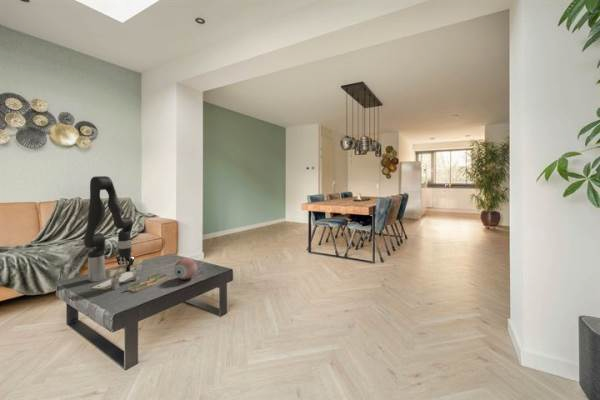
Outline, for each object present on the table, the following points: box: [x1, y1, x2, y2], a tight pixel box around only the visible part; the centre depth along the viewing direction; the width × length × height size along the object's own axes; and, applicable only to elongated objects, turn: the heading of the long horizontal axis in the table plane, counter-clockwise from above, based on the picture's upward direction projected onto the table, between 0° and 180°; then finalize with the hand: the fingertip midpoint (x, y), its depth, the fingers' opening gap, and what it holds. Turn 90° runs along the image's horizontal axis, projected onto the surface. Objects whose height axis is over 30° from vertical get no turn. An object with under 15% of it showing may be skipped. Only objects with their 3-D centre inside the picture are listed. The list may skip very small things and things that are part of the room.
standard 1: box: [110, 272, 121, 291], centre depth 172 cm, size 6×4×11 cm, turn 76°
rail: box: [105, 259, 143, 279], centre depth 179 cm, size 4×24×5 cm, turn 166°
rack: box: [125, 272, 168, 293], centre depth 180 cm, size 9×26×3 cm, turn 166°
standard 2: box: [131, 264, 143, 282], centre depth 187 cm, size 6×4×11 cm, turn 76°
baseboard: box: [90, 271, 133, 291], centre depth 186 cm, size 31×3×12 cm
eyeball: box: [173, 257, 198, 280], centre depth 189 cm, size 15×15×15 cm
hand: (125, 271), depth 179 cm, fingers closed on rail, 3 cm apart
